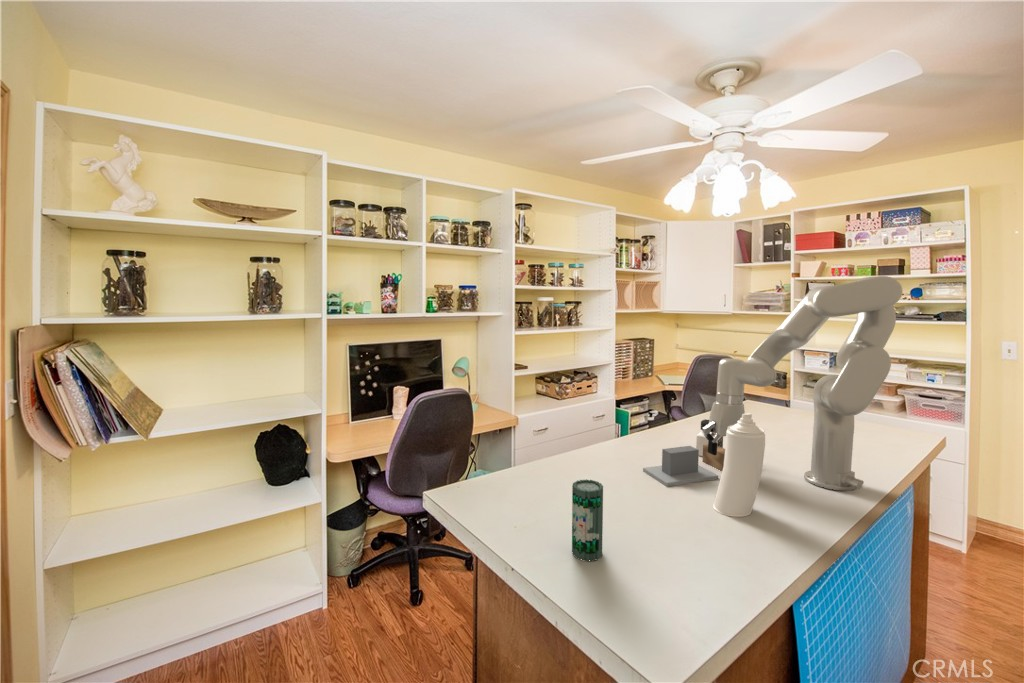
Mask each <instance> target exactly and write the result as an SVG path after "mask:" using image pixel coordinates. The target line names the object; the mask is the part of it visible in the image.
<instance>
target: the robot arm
mask: <svg viewBox="0 0 1024 683" xmlns="http://www.w3.org/2000/svg"><path fill="white" fill-rule="evenodd" d="M902 295H903V287H902V284H901V283H900V282H899V281H898V280H897V279H895V278H894V277H891V276H887V275H880V276H879V275H876V276H866V277H863V278H859V279H857V280H856V281H852V282H847V283H840V284H834V285H822V286H817V287H814V288H812V289H810V291H808V292H807V293H806V294H805V295H804V296H803V297H802V299H801V300H800V301H799V303H797V305H796V306H795V307H794V308H793V310H792V311H791V312H790V313H789V314H788V315H787V317H785V319H784V320H783V321H782V322H781V323H780V324H779V325H778V327H777V328H775V329H774V330H773V331H772V333H771V334H770V335H768V336H767V338H765V339H764V340H763V341H762V342H761V343H760V344H759V345H758V346H757V347H756V348H755V350H754V351H753V352H752V353H751V354H750V356H748V358H747V359H746V361H744V360H743V359H739V358H730V357H728V358H727V357H725V358H721V359H720V361H719V362H718V368H717V369H718V371H717V380H716V381H717V382H716V394H715V401H713V403H712V405H711V409H710V414H709V424H708V425H706V426H705V427H703V428H702V429H703V432H704V436H705V437H706V438H707V440H709V441H708V453H710V454H712V455H717V443H716V441H717V440H718V438H719V437H720V436H723V437H726V431H727V429H728V426H731V425H735V424H737V421H738V420H740V418H742V414H745V413H746V411H745V404H744V399H745V397H746V396H745V385H749V386H753V387H758V388H766V387H770V386H771V385H772V384H774V383H775V381H776V379H777V371H776V369H775V367H776V365H778V363H780V361H781V360H782V359H783V358H784V357H785V356H787V355H788V354H790V353H791V352H793V351H795V350H797V349H799V348H801V347H804V346H805V345H806V344H807V343H808V342H810V340H811V339H812V338H813V337H814V336H815V335H816V333H817V332H818V331H819V330H820V329H821V328H822V326H823V325H824V324H825V323H826V322H827V321H828V320H829V319H830V318H838V317H845V316H850V315H851V316H852V315H857V316H856V320H855V323H854V324H853V327H852V329H851V331H850V332H849V334H848V335H847V337H846V339H845V341H844V342H843V344H842V346H841V347H840V348H839V350H838V351H837V354H836V356H835V362H836V364H837V366H838V368H839V369H840V370H841V371H840V372H839V374H827V375H824V376H822V377H820V378H819V379H818V380H817V382H815V385H814V387H813V392H812V394H813V395H812V398H813V410H814V411H813V413H814V414H813V428H812V430H813V431H812V443H811V444H812V446H811V460H810V463H811V464H810V470H807V471H805V472H804V480H805V481H807V482H808V483H810V484H812V485H814V484H815V486H817V487H820V488H823V487H824V489H828V490H832V489H833V490H834V491H842V492H843V491H844V492H845V491H846V492H847V490H848V491H853V490H856V489H857V490H861V489H862V487H863V485H864V480H862V479H860V478H856V472H855V471H853V470H852V463H853V462H852V460H853V450H854V448H853V447H854V434H855V416H857V415H859V414H860V413H863V412H864V411H865V410H866V409H867V408H868V407H869V405H870V404H871V403H872V401H873V400H874V398H875V397H876V394H878V392H879V390H880V389H881V387H882V385H883V384H884V382H885V380H886V379H887V377H888V375H889V373H890V370H891V368H892V359H891V357H890V354H889V353H888V351H887V350H885V349H884V348H885V347H886V345H887V343H888V341H889V339H890V337H891V335H892V333H893V331H894V329H895V327H896V321H897V316H896V314H897V313H896V308H895V307H894V305H896V304H897V303H898V302H899V301H900V300H901V298H902ZM710 432H711V433H710ZM714 435H715V436H714ZM713 436H714V438H713Z"/></svg>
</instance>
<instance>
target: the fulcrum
mask: <svg viewBox="0 0 1024 683" xmlns="http://www.w3.org/2000/svg"><path fill="white" fill-rule="evenodd" d="M661 451H662V452H661V456H662V457H661V465H657V466H655V465H654V466H648V467H643V468H642V472H644V473H645V474H646V475H649V476H650V477H651V478H653V479H654V480H656V481H658V482H659V483H661V484H662V485H664V486H665V487H671V486H678V485H685V484H691V483H697V482H698V483H700V482H704V481H712V479H713V480H718V479H719V475H718V474H716V473H714V472H713V471H711V470H709V469H707V468H704V467H703V466H701V465H699V457H700V456H699V450H698V449H696V447H694V446H691V445H686V446H685V445H684V446H677V447H675V446H674V447H668V448H662V450H661Z"/></svg>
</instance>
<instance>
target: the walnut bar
mask: <svg viewBox="0 0 1024 683" xmlns="http://www.w3.org/2000/svg"><path fill="white" fill-rule="evenodd" d="M724 457H725V447H723V448H722V447H720V446H717V455H712V454H710V453H708V444H706V445H703V457H702V463H704V464H706V465H707V466H709V465H710V467H711V466H712V468H713V467H714V468H713V469H715V468H716V469H715V470H717V469H718V470H717V471H719V470H720V471H719V472H721V471H723V467H724Z"/></svg>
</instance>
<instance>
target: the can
mask: <svg viewBox="0 0 1024 683" xmlns="http://www.w3.org/2000/svg"><path fill="white" fill-rule="evenodd" d="M571 489H572V491H571V492H572V497H571V498H572V501H571V505H572V506H571V507H572V508H571V510H572V513H571V522H572V523H571V524H572V525H571V527H572V528H571V553H572V552H573V553H572V555H575V556H576V557H577V558H579V559H578V560H580V559H582V560H587V561H586V562H588V561H589V560H590V561H589V562H595V561H599V560H600V559H601V558H602V557H603V533H604V532H603V531H604V530H603V528H604V526H603V525H604V524H603V523H604V521H603V520H604V519H603V517H604V516H603V515H604V485H603V484H602V483H601V482H599V481H596V480H593V479H579V480H576V481H574V482H572V488H571ZM575 556H574V557H575ZM576 557H575V558H576ZM577 558H576V559H577ZM595 559H597V560H595ZM582 560H581V561H582ZM592 560H593V561H592Z"/></svg>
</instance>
